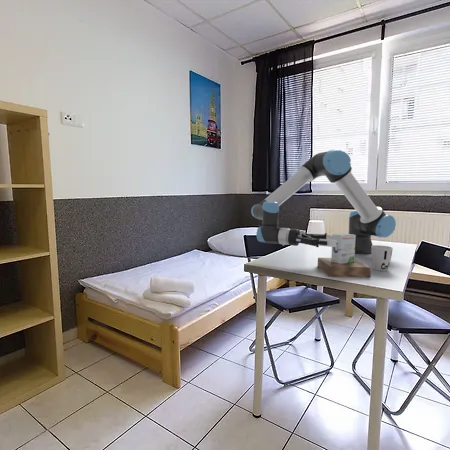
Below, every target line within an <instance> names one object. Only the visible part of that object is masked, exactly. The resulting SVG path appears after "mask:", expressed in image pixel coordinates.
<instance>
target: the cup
mask: <svg viewBox="0 0 450 450" xmlns="http://www.w3.org/2000/svg"><path fill="white" fill-rule="evenodd" d="M372 245H373V244H372ZM393 249H394V248H393V246H388V245H381V244H380V245H375V244H374V245H373V246H371V253H370V254H371V262H372V264H371V265H372V266H373V270H375V271H378V270H381V271H380V272H387V271H388V269H389V267H390V264H391V261H392V255H393ZM386 270H387V271H386Z"/></svg>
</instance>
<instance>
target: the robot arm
mask: <svg viewBox="0 0 450 450" xmlns="http://www.w3.org/2000/svg"><path fill="white" fill-rule="evenodd" d="M351 162H352V159H351V157H350V155H349V153H347V152H346V151H345V150H342V149H330V150H328V151H324V152H319V153H316V154H314V155H313V156H312V157H310V158H309V159H307V161H305V163H303V164H301V166H299V168H298V169H299V170H298V171H297V172H296V173H294V174H293V175H292V176H291V177H289V178H288V179H287V180H286V181H285V182H284V183H283V184H281V185H280V186H279V187H277V188H276V189H275V190H274V191H273V192H271V193H270V194H269V195H268V196H267V197H265V199H263V200H262V201H261V202H259V203H257V204H254V205H253V206H252V207H251V211H250V212H251V215H252V217H254V218H255V219H257V220H262V221H261V226H258V227H257V230H256V234H255V235H256V239H257V241H258V242H260V243H265V244H278V245H282V246H283V247H284V246H285V245H286V246H287V245H289V246H296V247H298V245H299V244H304V245H308V246H313V247H315V248H319V246H320V247H321V246H322V247H330V248H332V247H336V242H337V240H332V235H333V234H328V233H327V232H325V233H307V232H306V233H305V232H304V233H302V234H301V231H300V229H298V228H289V227H279V218H280V217H279V216H280V206H281V205H282V204H283V203H285V202H286V201H287V200H288V199H290V198H291V197H292V196H293V195H295V194H296V193H297V192H298V191H299V190H301V189H302V187H304V186H305V185H306V184H307V183H309V182H313V181H315V179H317V178H320V177H322V176H323V177H324V176H325V177H326V178H327V180H328V181H329V182H330V183H332V184H336V186H337V187H338V189H339V190H340V191H341V193H342V194H343V195H344V196H345V198H346V200H348V202H349V203H350V204H351V206H352V207H353V208H354V210H353V211H350V212H349V216H348V217H349V218H348V220H349V221H348V234H354V235H356V238H355V254H363V255H365V254H366V255H367V254H371V246H373V242H372V237H376V238H377V237H378V238H389V237H391V235H392V234H393V233H394V231H395V230H396V225H397V222H396V221H397V220H396V219H395V217H394V216H393V215H390V214H386V212H385V211H384V210H383V208H382V207H380V206H377V205H376V204H375V203H374V201H372V199H371V198H370V196H369V195H368V193H367V192H366V191H365V190H364V188H363V187H362V186H361V184H360V182H359V181H358V180H357V179H356V177H355V176H354V174H353V173H352V170H353V167H352V163H351Z"/></svg>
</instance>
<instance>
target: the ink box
mask: <svg viewBox="0 0 450 450" xmlns="http://www.w3.org/2000/svg"><path fill="white" fill-rule="evenodd" d="M331 235H332V240H337V242H336V247H331V255H330V256H331V257H330V258H331V261H332V262H335V263H339V264H344V263H353V262H355V259H356V258H355V257H356V253H355V238H356V235H354V234H349V233H333V234H331Z"/></svg>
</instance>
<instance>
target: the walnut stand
mask: <svg viewBox="0 0 450 450" xmlns="http://www.w3.org/2000/svg"><path fill="white" fill-rule="evenodd" d="M317 267H318V268H319V269H320V270H321V271H322V272H324V273H325V274H326V275H327V276H328V277H332V278H333V277H337V278H344V277H345V278H369V277H368V276H370V277H371V272H372V267H371V266H369V265H368V264H366V263H364V262H362V261H360V260H358V259H356V258H355V262H353V263H344V264H339V263H335V262H332V261H331V257H318V258H317Z"/></svg>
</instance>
